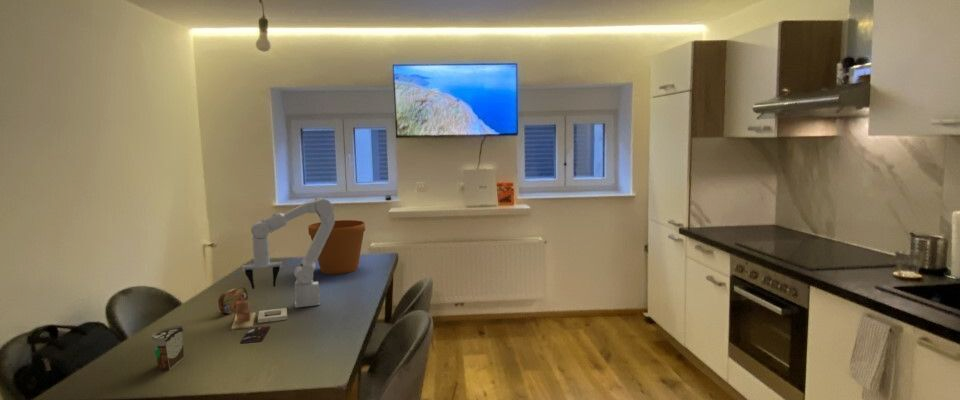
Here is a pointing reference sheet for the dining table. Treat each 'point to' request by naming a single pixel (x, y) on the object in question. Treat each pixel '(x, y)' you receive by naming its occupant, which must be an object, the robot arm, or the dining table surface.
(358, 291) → the dining table surface
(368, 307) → the dining table surface
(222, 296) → the tin
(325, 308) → the dining table surface
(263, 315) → the pocket plate
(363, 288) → the dining table surface
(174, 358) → the food container
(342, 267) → the flowerpot
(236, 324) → the oak board
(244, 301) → the block
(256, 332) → the smartphone
